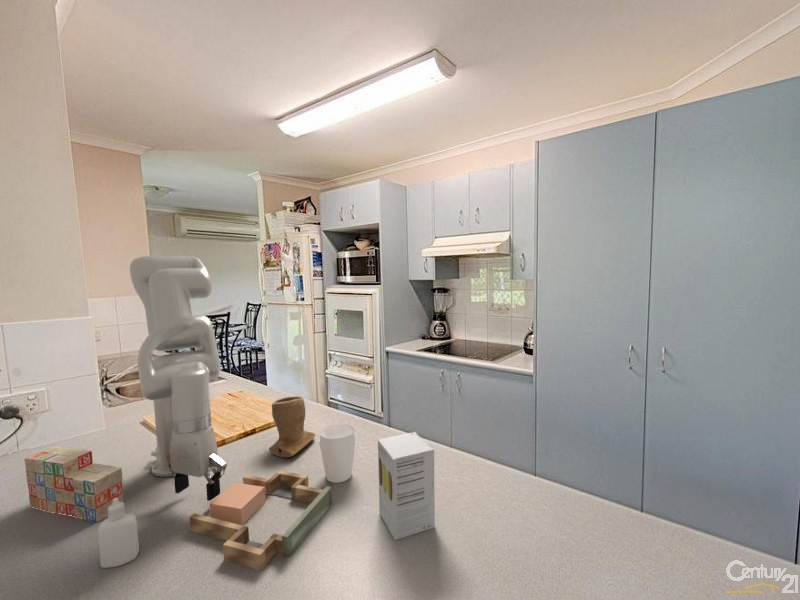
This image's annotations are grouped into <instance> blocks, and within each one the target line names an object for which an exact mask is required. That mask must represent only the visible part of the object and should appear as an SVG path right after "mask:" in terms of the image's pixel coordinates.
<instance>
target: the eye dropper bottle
mask: <svg viewBox="0 0 800 600" xmlns="http://www.w3.org/2000/svg"><path fill="white" fill-rule="evenodd" d="M138 532H139V531H138V521H137V516H136V515H135V514H133V513H126V509H125V502H124V503H123V502H119V500H118V498H114V499H113V503H112V505H111V506H109V507H108V516H107V519H105V520H103V521H102V522H101V523H100V525H99V526H98V529H97V539H98V540H97V541H98V550H99V551H98V553H99V563H100V567H101V568H102V569H107V568H114V567H119V566H122V565H125V564H127V563H129V562H132V561H134V560H135V559H136V558H137V557H138V555H139V552H140V545H139V533H138Z"/></svg>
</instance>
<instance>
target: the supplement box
mask: <svg viewBox="0 0 800 600" xmlns="http://www.w3.org/2000/svg"><path fill="white" fill-rule="evenodd" d="M377 451H378V452H377V455H378V456H377V459H378V460H377V461H378V464H377V465H378V467H377V468H378V507H379V508H378V509H379V514H380V515H381V518H382V520H383V521H384V523H385V525H386V527H387V528H388V530H389V532H390V534H391V536H392V538H393V539H394V541H398V540H400V539H403V538H407V537H409V536H413V535H415V534H419V533H421V532H424V531H428V530H431V529H434V528H435V525H436V523H435V521H436V519H435V517H436V513H435V512H436V507H435V449H434V448H433V447H431V446H430V445H429V444H428V443H427V442H425V440H423V438H421V436H420V435H419V434H418V433H417V432H415V431H412V432H409V433H408V432H407V433H404V434H403V433H402V434H400V435H399V434H398V435H394V436H389V437H383V438H379V439H378V440H377Z"/></svg>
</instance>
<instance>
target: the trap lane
mask: <svg viewBox="0 0 800 600" xmlns="http://www.w3.org/2000/svg"><path fill="white" fill-rule="evenodd" d="M242 484H248V485H255V486H261V487H265V495H271V496H275V497H280V498H283V499H284V498H285V499H289V500H295V501H298V502H299V501H300V502H302V503H303V502H304V503H308V504H309V505H308V506H307V508H305V510H304V511H302V513H301V514H300V515H299V516H298V518H296V520H295V521H294V522H292V524H291V525H290V526H289V527H288V528H287V529H286V531H285V532H284V533H283V534H279V533H273V534H272V535H270V537H268V538H267V540H266V541H265V542H264V543H260V542H256V541H253V540H250V535H249V534H250V533H249V526H246V525H238V524H234V523H230V522H226V521H222V520H219V519H215V518H211V517H210V516H206V515H202V514H198V513H193V514H192V515H190V516H189V518H188V519H189V530H190V532H192V533H197V534H200V535H204V536H208V537H211V538H215V539H219V540H222V541H225V542H224V543H223V545H222V549H223V552H222V553H223V561H227V562H230V563H234V564H237V565H241V566H243V567H247V568H251V569H254V570H258V571H263V569H265V567H266V566H267V564H268V563H269V562H270V561H271V560H272V559H273V558H274V557H275V555H278V556H280V557H281V556H282V557H285V558H289V557H290V556H291V555H292V554H293V553H294V551H295V550H296V549H297V547H298V546H299V545H300V544H301V542H303V540H304V539H305V538H306V536H307V535H308V534H309V533H310V531H312V529H313V527H314V526H315V525H316V524H317V523H318V522H319V520H321V518H322V517H323V515H325V513H327V512H326V511H328V509H329V508H330V507H331V505H332V504H333V499H332V498H333V497H332V495H333V493H332V486H328V485H326V486H325V487H324V489H322V488H315V487H312V486H309V476H308V475H305V474H301V473H294V472H290V471H284V470H279V471H277V472H275V474H273V475H272V476H271V477H270V478H265V477H260V476H254V475H249V474H245V475H244V476H243V477H242Z"/></svg>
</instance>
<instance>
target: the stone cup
mask: <svg viewBox="0 0 800 600" xmlns="http://www.w3.org/2000/svg"><path fill="white" fill-rule="evenodd" d="M271 415H272V416H271V417H272V419H273V421H274V423H275V426H276V429H277V432H278V439H277V440H276V441H275V442H274V443H273V444H272V445H271V446H270V447H269V448H268V450H269V452H271V453H272V454H273V455H276V456H277V457H280V458H282V459H283V458H284V459H285V458H290V457H293V456H294V455H296V454H298V452H300V451H301V450H302V449H303V448H305V446H307V445H308V444H310V442H311V441H312V440H314V438H315V437H316V433H314V432H311V431H306V430H305V429H304V426H305V419H306V405H305V400H304V398H303V397H302V396H300V395H296V396H295V395H294V396H293V395H292V396H286V397H281V398H278V399H275V400H274V401H273V402H272V404H271Z"/></svg>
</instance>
